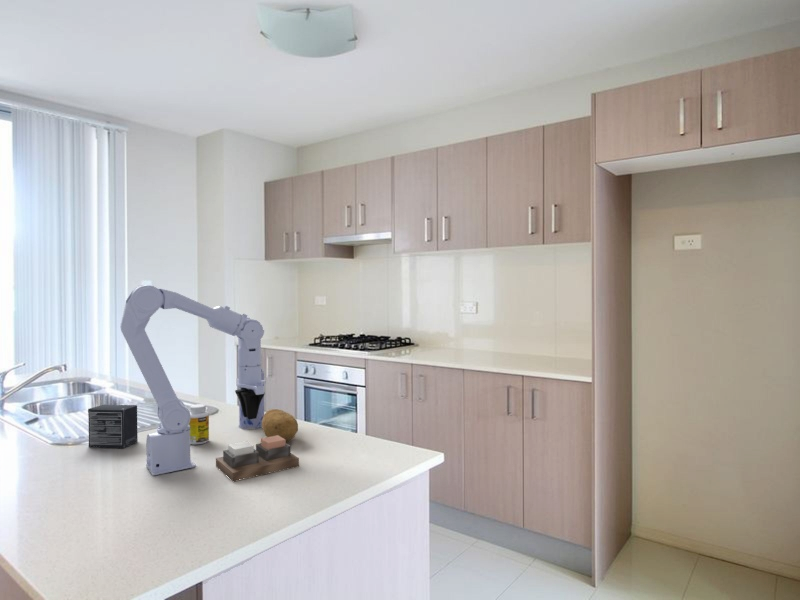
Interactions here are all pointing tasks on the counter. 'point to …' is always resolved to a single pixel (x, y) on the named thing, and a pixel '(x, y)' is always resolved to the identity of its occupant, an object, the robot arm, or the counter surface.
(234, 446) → the cream key
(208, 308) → the robot arm
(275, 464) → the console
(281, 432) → the potato
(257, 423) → the aerosol can
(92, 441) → the small box
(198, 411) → the supplement bottle
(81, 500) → the counter surface
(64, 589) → the counter surface
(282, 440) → the terracotta key
